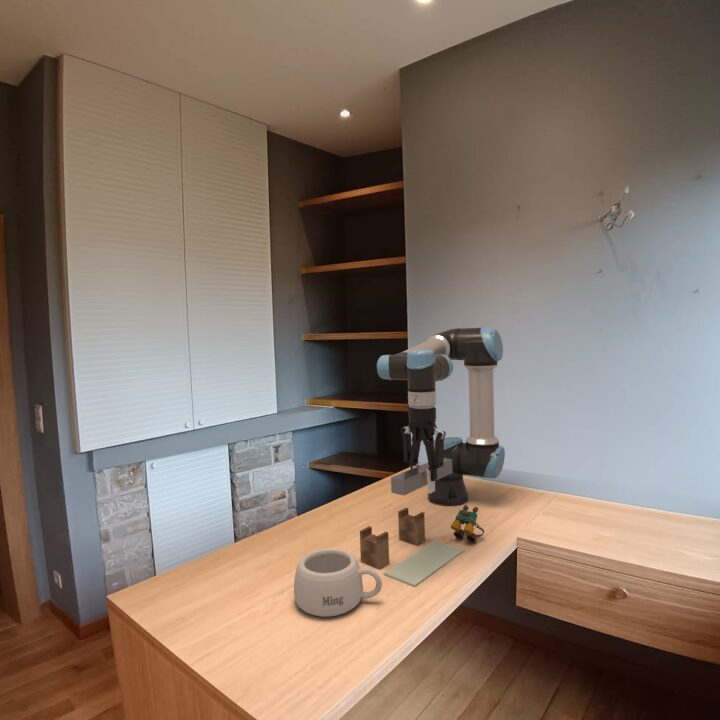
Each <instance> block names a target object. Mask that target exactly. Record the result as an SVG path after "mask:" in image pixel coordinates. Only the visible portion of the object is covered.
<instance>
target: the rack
mask: <svg viewBox="0 0 720 720" xmlns="http://www.w3.org/2000/svg"><path fill="white" fill-rule="evenodd" d="M397 515H398V517H397V518H398V520H397V521H398V540H399V541H401V542H404V543H408V544H411V545H413V546H415V547H419V546H420V545H421V544H424V543H425V542H426V524H425V523H426V521H425V520H426V518H425V515H426V514H425V512H424V511H421V512H419V513H417V514H415V515H413V514H412V515H411V514H409V508H408V507H404V508H402V509H400V510H398V511H397ZM372 531H373V526H371V525H370V526H367V527H364V528H363V529H361V530H359V546H360V547H359V549H360V563H362V564H365V565H367V566H369V567H373V568H375V569H378V570H382V569H383V568H385V567H387V566H389V565H390V551H389V550H390V547H389V546H390V545H389V544H390V543H389V541H390V540H389V532H388V531H384V532H382V533H380V534H379V535H376V534H373V532H372Z"/></svg>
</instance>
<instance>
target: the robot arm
mask: <svg viewBox="0 0 720 720" xmlns="http://www.w3.org/2000/svg"><path fill="white" fill-rule="evenodd" d="M503 353H504V346H503V341H502V338H501V334H500V333H499V331H498V330H497V328H494V327H466V328H465V327H464V328H463V327H462V328H459V327H457V328H451V329H447V330H445V331H441V332H438V333H436V334H434V335H431V336H429V337H428V338H427V340H426V341H424V342H422V343H420V344H418V345H415V346H412V347H410V348H408V349H406V350H404V351H402V352H398V353H396V354H384V355H381V356H380V357H379V358H378V360H377V362H376V370H377V371H376V372H377V375H378V377H379V378H380V379H382V380H389V381H394V380H396V381H398V380H399V381H407V404H408V406H409V407H408V409H407V411H408V413H407V414H408V415H407V416H408V421H409V423H408V425H407V426H403V427H400V433H401V435H402V447H403V448H402V449H403V462H404V463H407V464H408V465H409V466H410V467H409V468H410V469H409V470H411V469H413V468H415V467H418V466H420V465H421V464H419V463H420V461H419V457H420V451H421V443H422V442H423V446H424V447H425V452H426V458H427V463H428V464H429V468H428V469H427V485H426V487H427V488H426V493H427V499H428V501H429V502H430V503H433V504H435V505H440V506H448V507H449V506H450V507H451V506H452V507H455V506H461V505H465V504H466V503H467V502H468V501H469V493H468V490H467V486H466V484H465V481H464V476H472V477H478V478H483V479H497V478H498V477H499V476H500V474H501V472H502V471H503V467H504V463H505V457H506V456H505V455H506V451H505V447H504V446H502V445H500V440H499V439H498V437H496V436H495V408H494V407H495V405H494V403H495V402H494V399H495V397H494V396H495V394H494V370H495V368H496V367H497V366H498V362H499V361H501V360H502V359H503ZM453 361H463V366H464V367H465V369H466V370H467V371H468V403H469V405H468V407H469V436H468V437H467V438H466V439H465V442H463V441H464V440H463V438H462V437H458V436H450V437H446V435H447V433H446V432H447V431H444V430H443V431H442V430H440V429H438V426H437V425H436V424H437V423H436V420H437V408H436V407H435V406H436V405H437V398H436V396H437V395H436V394H437V393H436V391H437V390H436V382H439V381H440V382H441V381H443V380H445V379H447V378H450V376H451V375H452V373H453V371H454V363H453ZM434 439H435V440H434ZM444 458H447V459H452V473H451V474H449V475H447V476H445V477H443V478H441V479H438V480H437V469H438V468H440V467H442V466H443V465H444Z"/></svg>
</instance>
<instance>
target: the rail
mask: <svg viewBox="0 0 720 720" xmlns="http://www.w3.org/2000/svg"><path fill="white" fill-rule="evenodd" d="M419 465H420V466H418V467H415V468H413V469H411V470H410V469H408V470H406V471H404V472H401V473H399V474H396V475H394V476H391V477H390V489H391V490H390V492H391V494H396V495H400V496H403V497H404V496H406V495H408V494H410V493H413V492H415V491H417V490H419V489H421V488H423V487H425V486H426V487H427V469H428V468H429V464H428V462H425V463H423V464H419ZM451 473H452V459H447V458H444V465H443V466H442V467H440V468H438V469H437V480H438V479H441V478H443V477H445V476H447V475H449V474H451Z"/></svg>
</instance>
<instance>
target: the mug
mask: <svg viewBox="0 0 720 720" xmlns="http://www.w3.org/2000/svg"><path fill="white" fill-rule="evenodd" d="M362 575H369V576H370V577H373V579H374V581H375V587H374V589H372V590H370V591H364V585H363V577H362ZM382 585H383V582H382V578H381V576H380V575H379V573H378V572H377V571H376V570H374V569H373V568H370V567H366V568H365V567H364V568H361V566H360V565H359V562H358V560H357V558H356V557H355V555H354V554H352V552H349V551H347V550H344V549H340V548H339V549H338V548H321V549H318V550H313V551H311V552H309V553H307V554H305V555H304V556H302V558H300V560H299V561H298V563H297V566H296V570H295V574H294V583H293V595H294V600H295V604H296V605H297V606H298V607H299V608H300V609H301V610H302V611H304V612H305V613H307V614H309V615H311V616H315V617H321V618H328V617H329V618H330V617H336V616H340V615H343V614H346V613H348V612H349V611H351V610H353V609H354V608H355V607H356V606H357V605H359V603H360V601H361V599H371V598H373V597H375V596H377V595H378V594H379V593H380V592H381V590H382V587H383V586H382Z"/></svg>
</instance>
